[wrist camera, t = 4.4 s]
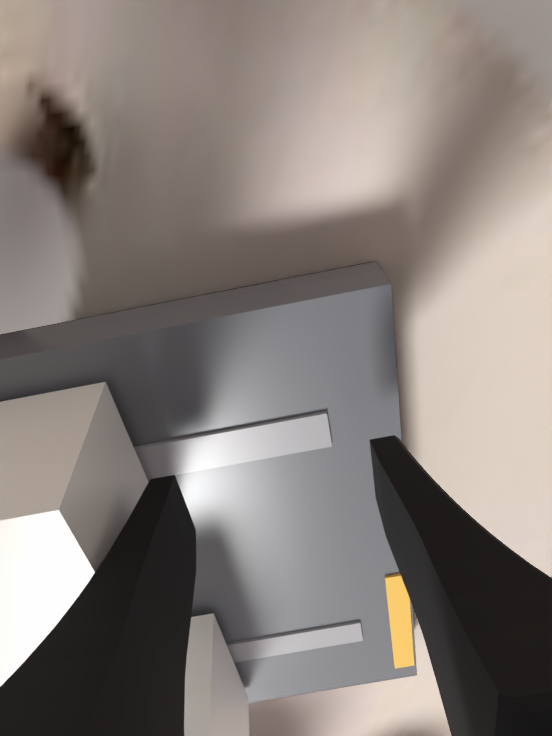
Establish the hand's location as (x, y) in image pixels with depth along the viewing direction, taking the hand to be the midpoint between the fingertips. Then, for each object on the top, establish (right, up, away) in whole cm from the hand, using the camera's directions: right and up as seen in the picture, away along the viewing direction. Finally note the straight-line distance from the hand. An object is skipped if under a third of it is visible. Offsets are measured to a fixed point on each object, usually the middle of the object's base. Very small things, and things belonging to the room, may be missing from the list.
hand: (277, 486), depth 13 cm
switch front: (-6, 0, +2) cm, 6 cm away
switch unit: (-2, -3, +6) cm, 7 cm away
